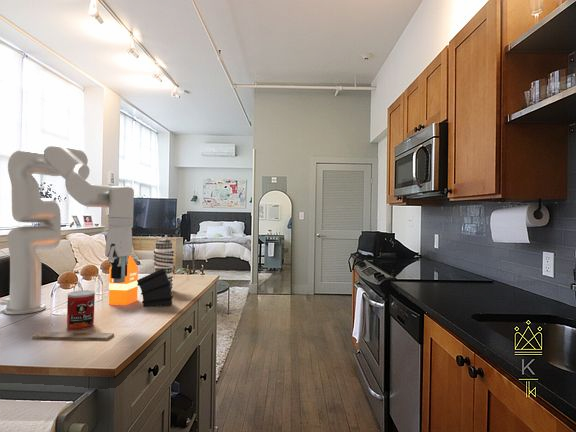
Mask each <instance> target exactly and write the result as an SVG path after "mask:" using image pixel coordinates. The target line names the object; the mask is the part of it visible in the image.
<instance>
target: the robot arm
mask: <svg viewBox="0 0 576 432" xmlns="http://www.w3.org/2000/svg"><path fill="white" fill-rule="evenodd" d="M8 158H9V159H8V162H7V172H8V173H7V174H8V176H9V179H10V181H9V182H10V185H11V214H12V218H13V219H14V220H15V221H16V222H18V223H28V224H29V223H31V224H32V223H36V224H37V223H38V224H40V225H30V226H29V225H25V226H18V227H14V228H12V229H11V230H10V231H9V232H8V234H7V235H6V242H7V243H6V244H7V248H8V252H9V253H8V254H9V298H3V299H2V300H1V301H0V306H6V308H5V309H4V311H3V313H4V314H6V315H27V314H33V313H37V312H41V311H43V310H45V309H46V308H47V305H46V304H45V303H42V261H41V258H40V256H39V255H38V254H37V251H38V252H39V251H49V250H53V249H55V248H58V246H59V245H60V242H61V239H62V238H61V237H62V228H61V227H62V226H61V225H62V224H61V217H62V216H61V209H60V206H59V204H58V203H57V202H56V200H54V199H51V198H41V197H40V196H41V195H40V184H39V183H38V181H37V179H36V178H35V177H34V176H33V174H34V175H42V176H49V177H62V178H63V179H64V180H65V183H64V185H65V189H66V191H67V193H68V194H69V196H70V197H72V198H73V199H74V200H75V201H76V202H77V203H79V204H80V205H82V206H84V207H88V208H89V207H90V208H108V225H107V226H108V228H107V232H106V239H105V240H106V241H105V252H104V253H105V257H107V259H108V261H109V263H110V267H111V278H113V279H120V278H121V271H122V266H120V265H121V257H124V256H126V258H125V276H127V265H126V264H128V259H129V256H130V255H131V254H132V251H133V230H132V228H134V200H135V199H134V198H135V190H134V188H133V187H130V186H125V185H124V186H122V185H120V186H119V185H113V186H112V185H111V186H110V185H104V184H103V185H102V184H92V183H89V182H88V181H87V179H88V178H89V175H90V168H89V166H88V161H89V160H88V156H87V154H86V153H85V152H84V151H83V150H81V149H80V148H76V147H71V146H66V145H62V144H53V145H52V144H51V145H49V146H47V147H46V148H44V150H43V151H39V150H38V151H37V150H31V149H20V150H16V151H14V152H13V153H12V154H11V155H10V157H8ZM115 255H117V256H118V257H114V256H115ZM117 259H118V261H117Z"/></svg>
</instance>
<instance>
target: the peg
mask: <svg viewBox="0 0 576 432" xmlns="http://www.w3.org/2000/svg"><path fill="white" fill-rule="evenodd" d="M114 257H118V256H117V255H115V256H114ZM125 258H126V256H124V257H121V265H120V266H122V271H121V278H120V279H113V283H123V282H125ZM117 261H118V259H117Z"/></svg>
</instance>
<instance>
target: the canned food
mask: <svg viewBox="0 0 576 432" xmlns="http://www.w3.org/2000/svg"><path fill="white" fill-rule="evenodd" d="M95 296H96V295H95V291H94V290H83V289H82V290H76V291H71V292H69V293H68V294H67V307H66V310H67V312H66V326H67V329H68V330H72V331H80V330H86V329H89V328H91V327H93V326H94V323H95V298H96V297H95Z"/></svg>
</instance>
